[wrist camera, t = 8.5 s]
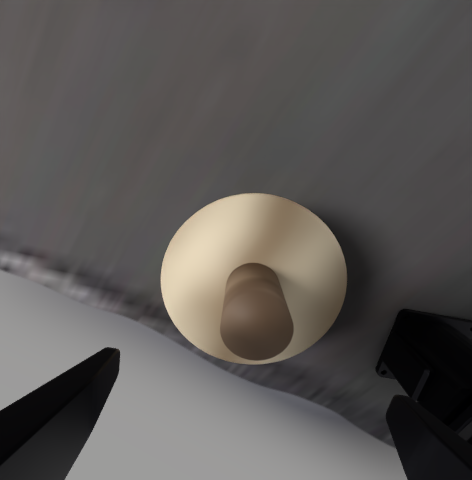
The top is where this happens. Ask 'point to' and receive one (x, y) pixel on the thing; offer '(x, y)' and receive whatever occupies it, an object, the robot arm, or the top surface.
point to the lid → (253, 278)
